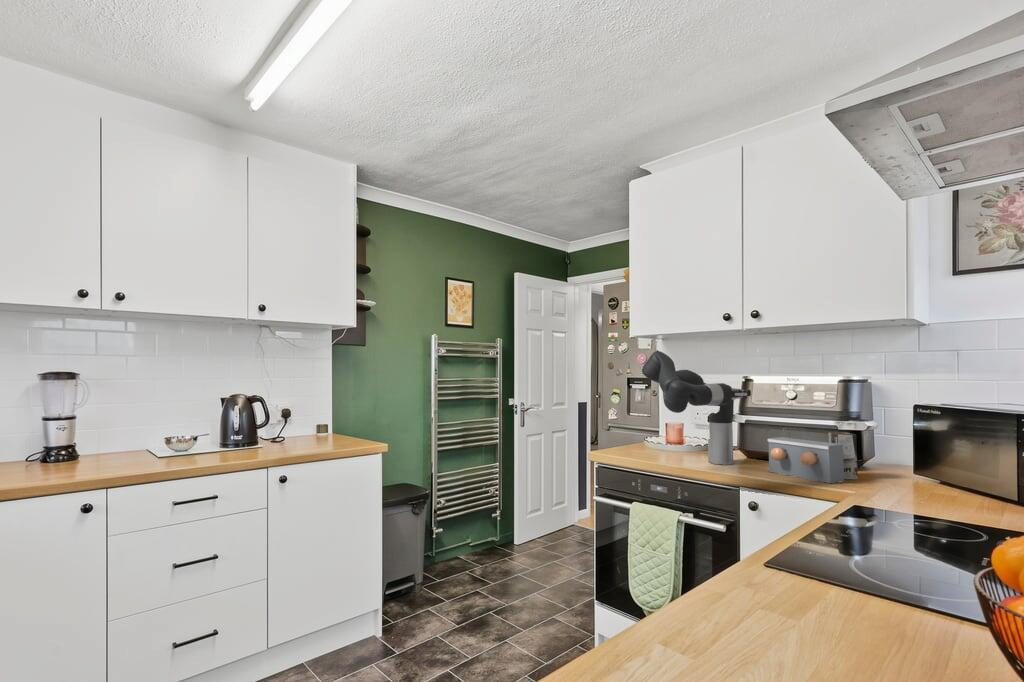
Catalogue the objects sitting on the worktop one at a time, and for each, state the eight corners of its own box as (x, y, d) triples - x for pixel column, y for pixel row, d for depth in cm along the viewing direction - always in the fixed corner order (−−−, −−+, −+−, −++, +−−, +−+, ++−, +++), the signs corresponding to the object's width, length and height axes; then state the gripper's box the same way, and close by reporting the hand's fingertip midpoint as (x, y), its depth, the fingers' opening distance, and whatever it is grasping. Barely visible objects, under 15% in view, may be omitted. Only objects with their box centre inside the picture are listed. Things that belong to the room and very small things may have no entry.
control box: (768, 472, 209) (767, 438, 209) (783, 470, 212) (782, 437, 213) (829, 483, 187) (828, 446, 188) (844, 481, 191) (842, 444, 192)
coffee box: (858, 479, 194) (857, 434, 195) (839, 479, 195) (837, 434, 196) (848, 474, 203) (846, 431, 204) (829, 474, 204) (828, 431, 205)
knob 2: (800, 464, 193) (799, 451, 194) (821, 461, 199) (820, 449, 199) (811, 466, 189) (811, 453, 190) (833, 463, 195) (832, 451, 195)
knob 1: (770, 459, 204) (770, 447, 204) (791, 456, 209) (791, 445, 210) (781, 461, 200) (780, 449, 200) (802, 458, 206) (801, 446, 206)
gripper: (729, 383, 179) (764, 382, 187) (699, 383, 191) (733, 381, 199) (730, 406, 179) (765, 404, 187) (699, 404, 191) (734, 402, 199)
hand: (749, 392), depth 193 cm, fingers closed
